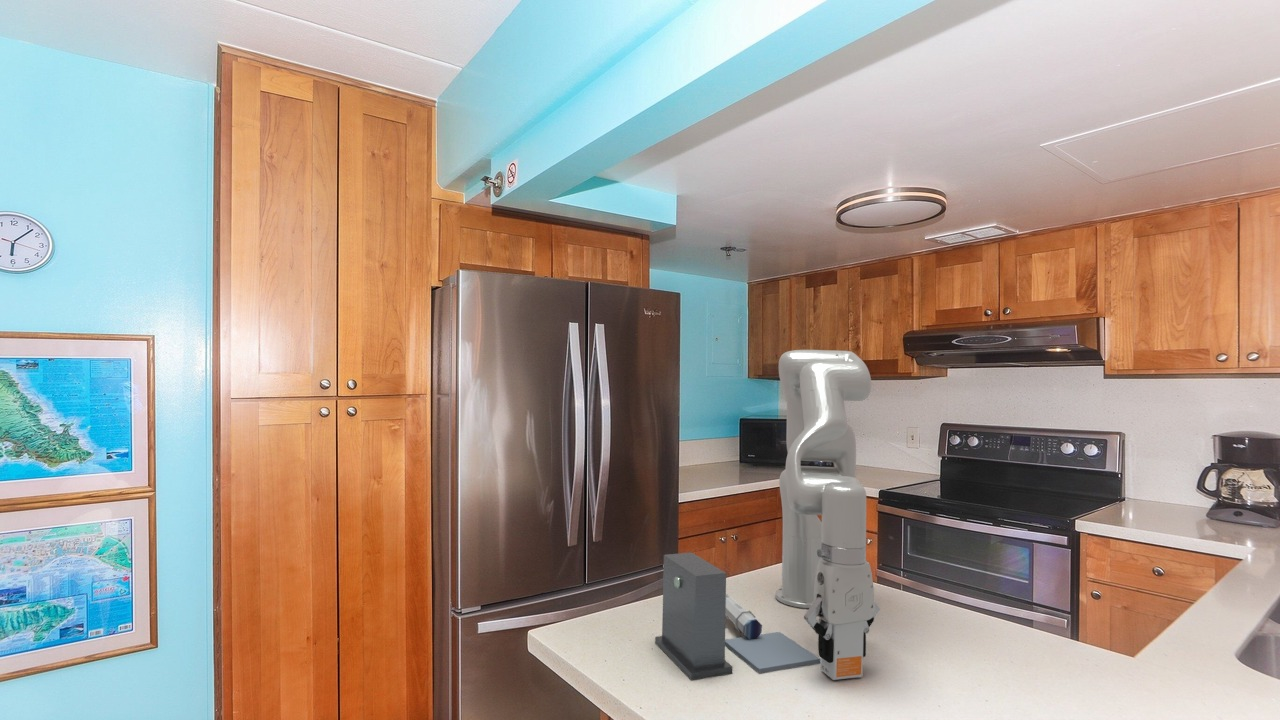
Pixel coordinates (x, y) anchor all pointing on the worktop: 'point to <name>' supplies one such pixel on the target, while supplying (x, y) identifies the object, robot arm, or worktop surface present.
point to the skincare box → (846, 652)
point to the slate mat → (771, 652)
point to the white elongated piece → (742, 619)
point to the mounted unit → (694, 616)
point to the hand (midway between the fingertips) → (842, 655)
